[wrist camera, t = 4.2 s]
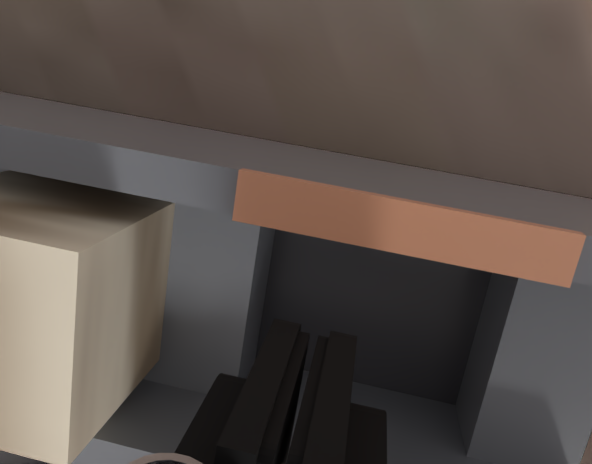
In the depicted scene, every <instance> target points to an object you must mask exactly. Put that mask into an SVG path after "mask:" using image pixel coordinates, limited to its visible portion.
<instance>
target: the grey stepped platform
mask: <svg viewBox="0 0 592 464" xmlns="http://www.w3.org/2000/svg"><path fill="white" fill-rule="evenodd" d="M8 170H12V171H17V172H22V173H27V174H32V175H37V176H42V177H47V178H52V179H57V180H62V181H67V182H72V183H77V184H82V185H87V186H92V187H97V188H102V189H107V190H112V191H117V192H122V193H127V194H132V195H137V196H142V197H147V198H152V199H158V200H163V201H168V202H173V203H175V209H174V219H173V229H172V239H171V249H170V258H169V268H168V278H167V288H166V298H165V308H164V318H163V328H162V338H161V348H160V357H159V361H158V362H157V363H156V364H155V365H154V366H153V368H152V369H151V370H150V371H149V372H148V374H147V375H146V376H145V377H144V378H143V379H142V381H141V382H140V383H139V384H138V385H137V386H136V388H135V389H134V390H133V391H132V392H131V394H130V395H129V396H128V397H127V398H126V399H125V401H124V402H123V403H122V404H121V405H120V407H119V408H118V409H117V410H116V411H115V412H114V414H113V415H112V416H111V417H110V418H109V420H108V421H107V422H106V423H105V424H104V425H103V427H102V428H101V429H100V430H99V431H98V432H97V434H96V435H95V436H94V437H93V438H92V440H91V441H90V442H89V443H88V444H87V445H86V447H85V448H84V449H83V450H82V451H81V453H80V454H79V455H78V456H77V457H76V458H75V460H74V461H73V462H72V463H71V464H128V463H130V462H132V461H134V460H136V459H138V458H140V457H143V456H146V455H151V454H156V453H174V452H175V450H176V449H177V447H178V445H179V443H180V442H181V440H182V438H183V436H184V434H185V433H186V431H187V429H188V427H189V426H190V424H191V422H192V420H193V418H194V417H195V415H196V413H197V411H198V409H199V408H200V406H201V404H202V402H203V401H204V399H205V397H206V395H207V393H208V392H209V390H210V388H211V386H212V385H213V383H214V381H215V379H216V377H217V376H218V375H219V374H220V373H223V374H228V375H232V376H236V377H241V378H245V379H247V377H248V375H249V373H250V370H251V368H252V366H253V364H254V362H255V360H256V357H257V355H258V353H259V351H260V349H261V346H262V344H263V342H264V340H265V338H266V335H267V333H268V331H269V329H270V327H271V325H272V322H273V320H274V319H280V320H284V321H289V322H294V323H298V324H301V332H306V333H310V338H309V344H308V349H307V354H306V360H305V365H304V371H303V376H302V382H301V387H300V393H299V398H298V404H297V409H296V415H295V420H294V426H293V431H292V436H291V441H292V437H293V433H294V429H295V425H296V421H297V417H298V414H299V410H300V406H301V402H302V398H303V394H304V390H305V386H306V382H307V378H308V374H309V370H310V366H311V363H312V359H313V355H314V351H315V347H316V343H317V339H318V335H320V336H324V337H329V335H330V331H336V332H340V333H345V334H350V335H354V336H357V345H356V354H355V364H354V374H353V383H352V393H351V403H355V404H359V405H364V406H368V407H373V408H377V409H381V410H385V411H386V414H387V464H580V462H581V459H582V457H583V454H584V451H585V448H586V446H587V443H588V440H589V437H590V435H591V432H592V199H590V198H585V197H579V196H574V195H568V194H563V193H557V192H552V191H546V190H541V189H535V188H529V187H524V186H518V185H513V184H507V183H502V182H496V181H491V180H485V179H480V178H474V177H469V176H463V175H458V174H452V173H447V172H441V171H436V170H430V169H425V168H419V167H414V166H408V165H403V164H397V163H392V162H386V161H381V160H375V159H370V158H364V157H359V156H353V155H348V154H342V153H337V152H331V151H326V150H320V149H314V148H309V147H303V146H298V145H292V144H287V143H281V142H276V141H270V140H265V139H259V138H254V137H248V136H243V135H237V134H232V133H226V132H221V131H215V130H210V129H204V128H199V127H193V126H188V125H182V124H177V123H171V122H166V121H160V120H155V119H149V118H144V117H138V116H133V115H127V114H122V113H116V112H111V111H105V110H99V109H94V108H88V107H83V106H77V105H72V104H66V103H61V102H55V101H50V100H44V99H39V98H33V97H28V96H22V95H17V94H11V93H6V92H0V172H3V171H8ZM290 445H291V442H290ZM289 449H290V447H289ZM288 453H289V452H288ZM286 462H287V461H286Z"/></svg>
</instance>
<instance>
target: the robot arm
mask: <svg viewBox="0 0 592 464" xmlns="http://www.w3.org/2000/svg"><path fill="white" fill-rule="evenodd" d="M309 338H310V333H306V332H301V324H298V323H294V322H289V321H284V320H280V319H274V320H273V322H272V325H271V327H270V329H269V331H268V333H267V335H266V338H265V340H264V342H263V344H262V346H261V349H260V351H259V353H258V355H257V357H256V360H255V362H254V364H253V366H252V368H251V370H250V373H249V375H248V377H247V379H245V378H241V377H236V376H232V375H228V374H223V373H220V374H219V375H218V376H217V377H216V379H215V381H214V383H213V385H212V386H211V388H210V390H209V392H208V393H207V395H206V397H205V399H204V401H203V402H202V404H201V406H200V408H199V409H198V411H197V413H196V415H195V417H194V418H193V420H192V422H191V424H190V426H189V427H188V429H187V431H186V433H185V434H184V436H183V438H182V440H181V442H180V443H179V445H178V447H177V449H176V450H175V452H174V453H156V454H151V455H146V456H143V457H140V458H138V459H136V460H134V461H132V462H130V463H128V464H387V414H386V411H385V410H381V409H377V408H373V407H368V406H364V405H359V404H355V403H351V393H352V383H353V374H354V364H355V354H356V345H357V336H354V335H350V334H345V333H340V332H336V331H330V335H329V337H324V336H320V335H318V339H317V343H316V347H315V351H314V355H313V359H312V363H311V366H310V370H309V374H308V378H307V382H306V386H305V390H304V394H303V398H302V402H301V406H300V410H299V414H298V417H297V421H296V425H295V429H294V433H293V437H292V441H291V436H292V431H293V426H294V420H295V415H296V409H297V404H298V398H299V393H300V387H301V382H302V376H303V371H304V365H305V360H306V354H307V349H308V344H309ZM290 442H291V445H290ZM289 447H290V449H289ZM288 452H289V453H288ZM286 461H287V462H286Z"/></svg>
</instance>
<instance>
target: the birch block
mask: <svg viewBox="0 0 592 464" xmlns="http://www.w3.org/2000/svg"><path fill="white" fill-rule="evenodd" d="M174 209H175V203H173V202H168V201H163V200H158V199H152V198H147V197H142V196H137V195H132V194H127V193H122V192H117V191H112V190H107V189H102V188H97V187H92V186H87V185H82V184H77V183H72V182H67V181H62V180H57V179H52V178H47V177H42V176H37V175H32V174H27V173H22V172H17V171H12V170H8V171H3V172H0V450H1V451H5V452H9V453H12V454H16V455H20V456H24V457H28V458H31V459H35V460H39V461H43V462H47V463H50V464H71V463H72V462H73V461H74V460H75V458H76V457H77V456H78V455H79V454H80V453H81V451H82V450H83V449H84V448H85V447H86V445H87V444H88V443H89V442H90V441H91V440H92V438H93V437H94V436H95V435H96V434H97V432H98V431H99V430H100V429H101V428H102V427H103V425H104V424H105V423H106V422H107V421H108V420H109V418H110V417H111V416H112V415H113V414H114V412H115V411H116V410H117V409H118V408H119V407H120V405H121V404H122V403H123V402H124V401H125V399H126V398H127V397H128V396H129V395H130V394H131V392H132V391H133V390H134V389H135V388H136V386H137V385H138V384H139V383H140V382H141V381H142V379H143V378H144V377H145V376H146V375H147V374H148V372H149V371H150V370H151V369H152V368H153V366H154V365H155V364H156V363H157V362H158V361H159V357H160V348H161V338H162V328H163V318H164V308H165V298H166V288H167V278H168V268H169V258H170V249H171V239H172V229H173V219H174Z"/></svg>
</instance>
